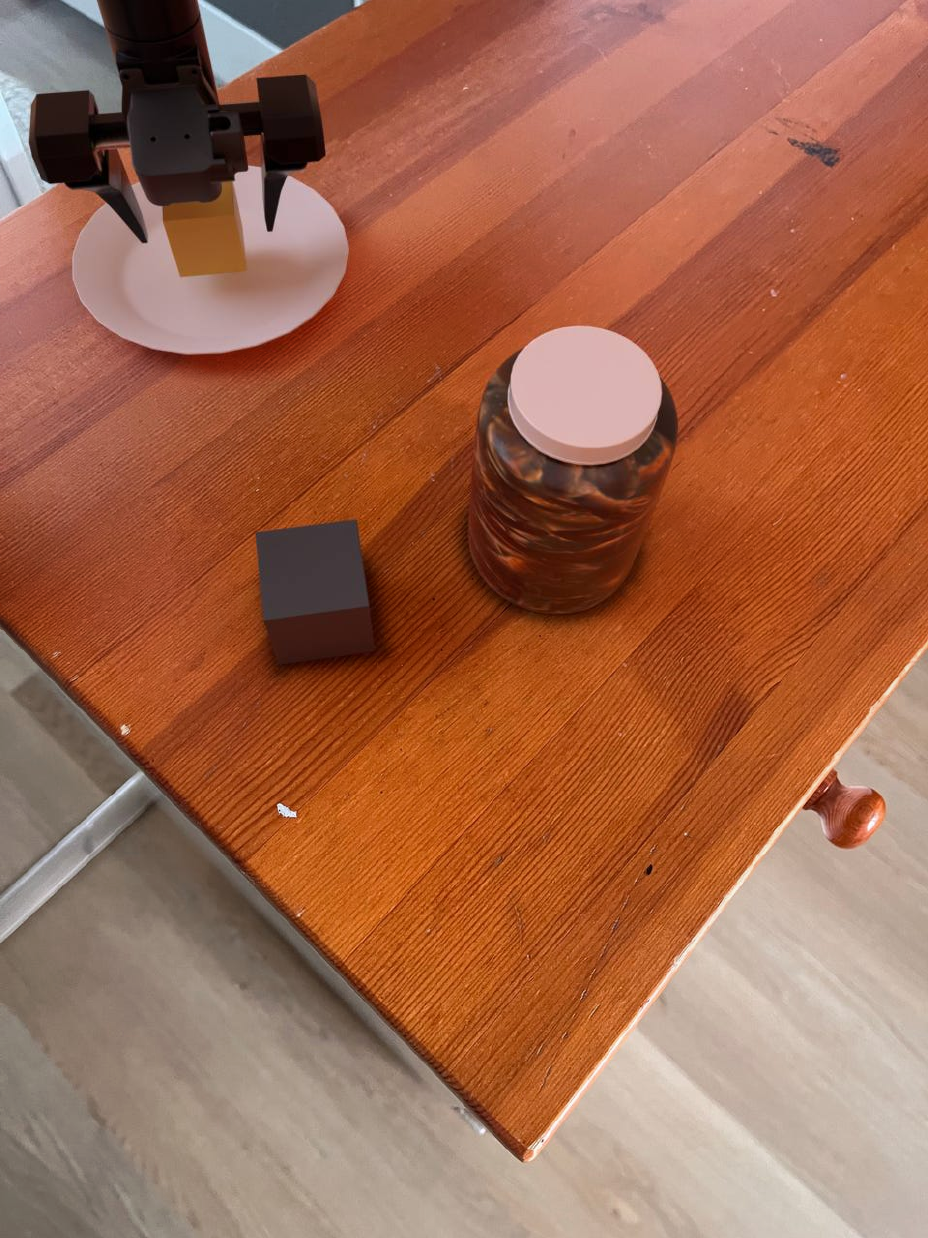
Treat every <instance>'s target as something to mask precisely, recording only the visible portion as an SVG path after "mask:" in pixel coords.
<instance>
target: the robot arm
mask: <svg viewBox="0 0 928 1238" xmlns="http://www.w3.org/2000/svg"><path fill="white" fill-rule="evenodd" d="M96 3H97V6H98V10H99V13H100V15H101V16H100V17H101V19H102V22H103V25H104V29H105V32H106V33H105V34H106V36H107V40H108V42H109V45H110V49H111V52H112V55H113V59H114V62H115V65H116V69H117V73H118V77H119V81H120V83H121V101H120V102H121V105H120V106H121V111H120V112H119V111H118V112H107V113H99V112H100V110H99V108H98V104H97V101H96V99H95V98H96V97H95V95H94V94H93V93H92V92H91V91H90V90H89V89H87V90H85V89H84V90H71V91H57V92H45V93H43V92H42V93H36V94H35V96H34V98H33V100H32V101H31V103H30V114H29V129H28V146H29V151H30V155H31V156H30V157H31V159H32V161H33V163H34V167H35V168H36V170H37V173H38V174H39V177H40V180H41V181H44V182H45V183H47V184H48V185H56V184H64V185H65V186H66V187H67V188H68V189H69V190H71V191H87V192H91V193H95V194H96V195H97V196H98V197H99V198H101V199H102V200H103V202H105V203H107V204H108V205H109V206H110V207H111V208H112V209H113V210H114V211H115V212H116V213H117V215H118V216H119V217H120V218H121V219H122V220H123V222H124V223H125V224H126V225H127V226H128V227H129V229H130V230H131V231H132V232H133V233H134V234H135V236H136V237H137V238H138V239H139V240H140V241H141V243H143V244H144V243H148V234H147V230H146V226H145V222H144V218H143V215H142V212H141V209H140V206H139V204H138V201H137V199H136V196H135V194H134V191H133V188H132V183H131V181H130V179H129V176H128V173H127V171H126V168H125V166H124V162H123V160H122V158H121V155H120V152H119V150H120V149H130V156H131V163H132V167H133V169H134V172H135V175H136V176H137V179H138V182H139V181H140V184H141V186H142V188H143V191H144V193H145V195H146V197H147V199H148V200H149V202H150V203H152V204H154V205H156V206H169V205H171V204H173V203H184V202H196V201H198V202H201V203H206V202H212V201H214V200H216V199H217V198H218V197H219V196H220V195H221V192H222V182H230V181H235V174H236V173H238V172H247V171H248V165H249V163H248V156H247V148H246V141H245V137H253V136H259V150H260V152H259V156H260V167H261V178H262V199H263V209H264V218H265V223H266V228H267V232H272V231H273V227H274V223H275V218H276V213H277V209H278V204H279V199H280V195H281V191H282V189H283V186H284V183H285V181H286V179H287V177H288V176H290V175H291V174H293V173H294V172H302V171H304V170H305V169H306V168H307V166H308V163H317V162H320V161H321V160H322V159H324V158H325V157H326V156H327V154H326V153H327V152H326V144H325V143H326V142H325V135H324V127H323V120H322V114H321V108H320V107H321V106H320V102H319V96H318V92H317V91H318V90H317V85H316V82H314V81H313V80H312V79H311V77H309V75H307V74H306V73H305V74H292V75H280V76H279V75H278V76H263V77H256V86H257V96H258V99H257V100H246V101H234V102H232V101H231V102H221V103H220V100H219V95H218V90H217V85H216V80H215V76H214V71H213V66H212V62H211V57H210V51H209V47H208V43H207V38H206V33H205V27H204V24H203V18H202V14H201V10H200V4H199V1H198V0H96Z"/></svg>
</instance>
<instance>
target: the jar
mask: <svg viewBox="0 0 928 1238" xmlns="http://www.w3.org/2000/svg"><path fill="white" fill-rule="evenodd" d="M475 425H476V426H475V432H474V433H475V435H474V444H473V454H472V467H471V477H470V491H469V492H470V493H469V502H468V503H469V505H468V520H467V541H468V548H469V553H470V556H471V559H472V561H473V565H474V567H475V568H476V570H477V572H478V573H479V575H480V577H481V578H482V579H483V580H484V582H485V584H487V586H488V587H489V588H491V589H492V590H493V592H495V594H497V595H498V596H500V597H501V598H502V599H504V600H505V601H506V602H508V603H511V604H512V605H514V606H516V607H518V608H521V609H524V610H527V611H530V612H533V613H538V614H544V615H570V614H575V613H579V612H584V611H586V610H589V609H591V608H593V607H596V606H597V605H599V604H601V603H603V602H605V600H607V599H609V598H610V597H611V596H612V595H613V594H615V592H616V591H617V590H618V589H619V588H620V587H621V586H622V584H623V583H624V582H625V580H626V578H627V577H628V576H629V574H630V573H631V570H632V567H633V565H634V563H635V560H636V558H637V556H638V553H639V551H640V548H641V547H642V544H643V541H644V539H645V537H646V534H647V531H648V528H649V526H650V523H651V520H652V518H653V515H654V513H655V510H656V508H657V505H658V502H659V500H660V497H661V495H662V492H663V489H664V487H665V484H666V481H667V478H668V475H669V472H670V469H671V466H672V463H673V459H674V456H675V452H676V448H677V442H678V437H679V436H678V435H679V419H678V411H677V408H676V404H675V401H674V399H673V396H672V394H671V391H670V389H669V388H668V386H667V384H666V383H665V381H664V380H663V378H662V377H661V375H660V374H659V371H658V369H657V367H656V366H655V363H654V362H653V360H652V359H651V358H650V357H649V355H648V354H647V353H646V352H645V351H644V350H643V349H642V348H641V347H640V346H639V345H638V344H636V343H635V342H634V341H632V340H631V339H629V338H628V337H626V336H623V334H622V335H621V334H620V333H618V332H615V331H612V330H609V329H606V328H602V327H597V326H591V325H571V326H562V327H558V328H555V329H551V330H549V331H546V332H544V333H542V334H541V335H539V336H537V337H536V338H534V339H532V340H531V341H530V342H529V343H527V345H525V346H524V347H522V348H520V349H519V350H517V351H516V352H514V353H513V354H511V355H510V356H509V357H508V358H506V359H504V361H503V362H502V363H501V364H500V365H499V366H498V367H497V368H496V370H495V371H494V372H493V374H492V375H491V376H490V378H489V379H488V381H487V384H486V385H485V387H484V390H483V393H482V397H481V400H480V402H479V407H478V412H477V420H476V424H475Z"/></svg>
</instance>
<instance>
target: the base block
mask: <svg viewBox="0 0 928 1238" xmlns="http://www.w3.org/2000/svg"><path fill="white" fill-rule="evenodd" d="M255 542H256V543H255V544H256V554H257V555H256V556H257V565H258V577H259V589H260V597H261V601H260V602H261V610H262V612H261V613H262V622H263V624H264V627H265V630H266V632H267V635H268V639H269V641H270V644H271V648H272V649H273V650H272V651H273V652H274V655H275V658H276V661H277V664H278V665H279V666H283V665H289V664H296V663H303V662H309V661H317V660H322V659H323V660H324V659H331V658H337V657H343V656H345V657H346V656H350V655H358V654H364V653H372V652H375V651H376V647H375V640H374V631H373V624H372V623H373V622H372V616H371V615H372V614H371V606H370V599H369V591H368V585H367V578H366V573H365V566H364V560H363V553H362V546H361V539H360V533H359V527H358V519H356V518H355V519H347V520H339V521H332V522H324V523H318V524H317V523H315V524H309V525H302V526H292V527H285V528H278V529H269V530H263V531H256V532H255Z"/></svg>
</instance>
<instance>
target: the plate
mask: <svg viewBox="0 0 928 1238" xmlns="http://www.w3.org/2000/svg"><path fill="white" fill-rule="evenodd" d="M233 185H234V189H235V194H236V198H237V203H238V208H239V212H240V217H241V222H242V226H243V236H244V246H245V256H246V266H247V271H240V272H230V273H220V274H210V275H199V276H189V277H180V276H179V273H178V269H177V266H176V263H175V260H174V256H173V253H172V250H171V246H170V243H169V240H168V237H167V233H166V230H165V227H164V224H163V215H162V206H156V205H154V204H152V203H150V202H149V200H148V199H147V197H146V195H145V193H144V191H143V188H142V186H141V184H140V181H139V180H138V181H137V182H136V183H133V184H131V186H132V188H133V191H134V194H135V196H136V199H137V201H138V204H139V206H140V209H141V212H142V215H143V218H144V222H145V226H146V230H147V234H148V243H144V244H143V243H141V241H140V240H139V239H138V238H137V237H136V236H135V234H134V233H133V232H132V231H131V230H130V229H129V227H128V226H127V225H126V224H125V223H124V222H123V220H122V219H121V218H120V217H119V216H118V215H117V213H116V212H115V211H114V210H113V209H112V208H111V207H110V206H109V205H108V204H107V203H106V202H105V203H104V204H102V206H101V207H99V208H98V209H97V210H96V211H95V212H94V213H93V214H92V216H91V217H90V219H89V220H88V221H87V223H86V224H85V225H84V227H82V230H80V233H79V236H78V239H77V240H76V244H75V247H74V250H73V252H72V282H73V283H74V287H75V289H76V292H77V295H78V297H79V301H80V302H81V303H82V305H83V306H84V307H85V308H86V309H87V311H88V312H89V313H90V314H91V315H92V316H93V318H94V319H95V320H96V322H98V323H99V324H100V325H102V326H103V327H104V328H107V329H108V330H109V331H111V332H113V333H114V334H115V335H117V336H119V338H122V339H124V340H127V341H129V342H132V343H135V344H137V345H140V346H142V347H145V348H148V349H150V350H155V351H161V352H167V353H173V354H180V355H185V356H188V355H189V356H190V355H216V354H227V353H231V352H236V351H241V350H246V349H251V348H255V347H259V346H261V345H264V344H266V343H269V342H272V341H274V340H277V339H278V338H281V337H283V336H286V335H288V334H290V333H292V332H293V331H295V330H296V329H298V328H299V327H301V326H302V325H303V324H305V323H307V322H308V321H309V320H311V319H313V318H314V317H315V316H317V314H318V313H319V312H320V311H321V310H322V308H324V306H325V305H326V304H328V302H329V301H330V300H331V299H332V298H333V297H334V295H336V292H337V290H338V288H339V286H340V284H341V283H342V280H343V278H344V276H345V274H346V273H347V265H348V258H349V252H350V248H349V242H348V238H347V237H348V236H347V233H346V232H347V231H346V227H345V226H344V224H343V222H342V220H341V219H340V217H339V215H338V214H337V212H336V210H335V208H334V207H333V205H331V204H330V203H329V202H328V201H327V200H326V199H325V198H324V197H323V196H322V195H321V194H320V193H319V192H318V191H317V190H316V189H314V188H312V187H310V186H309V185H307V184H306V183H303V182H302V181H300V180H298V179H297V178H294V177H293V176H290V175H288V177H287V179H286V181H285V183H284V186H283V189H282V191H281V195H280V199H279V204H278V209H277V213H276V218H275V223H274V227H273V231H272V232H267V228H266V223H265V218H264V209H263V199H262V178H261V166H255V165H249V164H248V171H247V172H238V173H236V174H235V181H233Z"/></svg>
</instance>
